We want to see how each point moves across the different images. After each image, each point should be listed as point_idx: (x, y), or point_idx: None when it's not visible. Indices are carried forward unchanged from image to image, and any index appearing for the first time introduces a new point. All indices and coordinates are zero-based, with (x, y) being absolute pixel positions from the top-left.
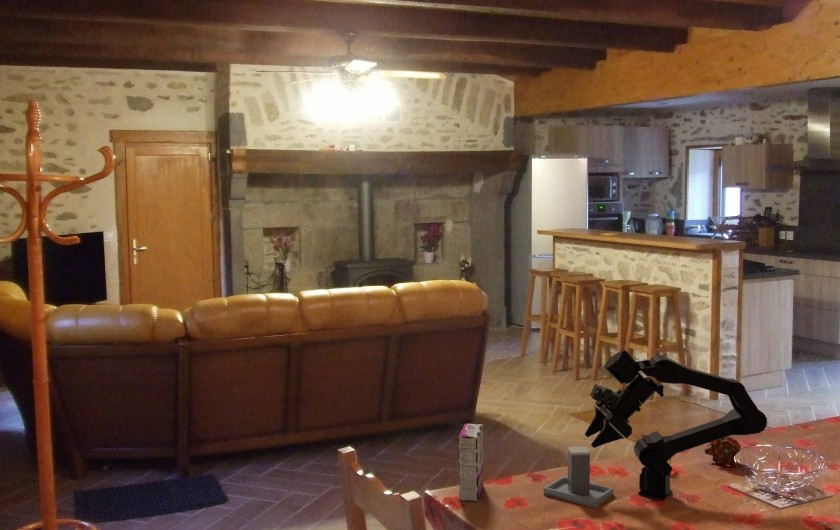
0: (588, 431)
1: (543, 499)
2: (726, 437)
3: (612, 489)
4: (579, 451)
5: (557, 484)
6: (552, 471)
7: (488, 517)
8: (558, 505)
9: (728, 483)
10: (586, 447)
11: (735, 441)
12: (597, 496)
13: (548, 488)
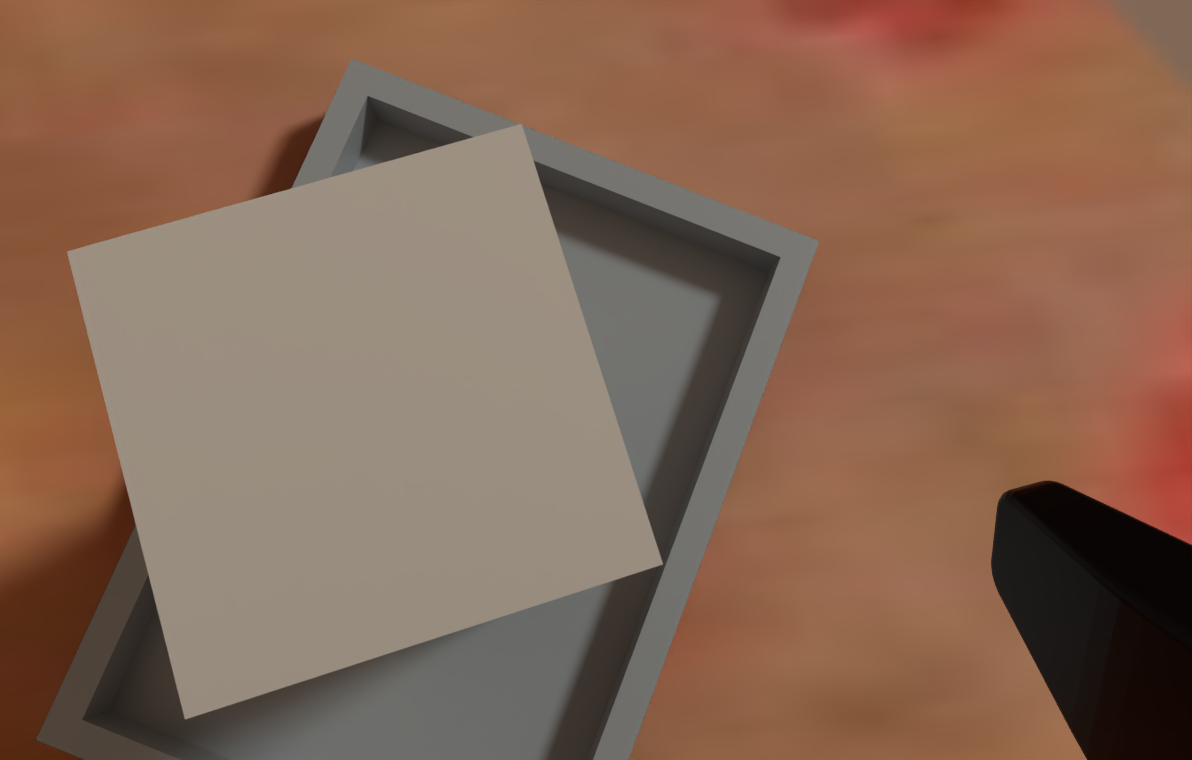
0: (1088, 609)
1: (224, 111)
2: None
3: None
4: (205, 436)
5: (612, 206)
6: (1153, 104)
7: None
8: (75, 292)
9: None
10: (583, 577)
11: None
12: (382, 728)
13: (341, 115)
